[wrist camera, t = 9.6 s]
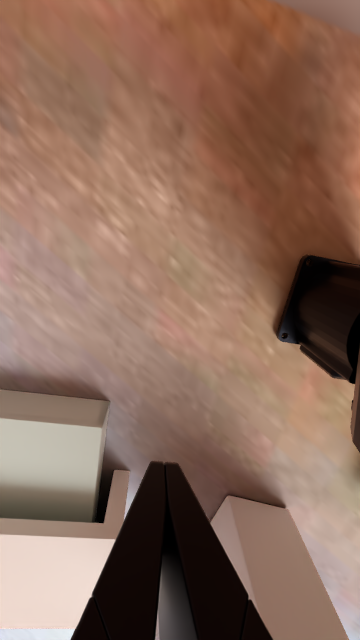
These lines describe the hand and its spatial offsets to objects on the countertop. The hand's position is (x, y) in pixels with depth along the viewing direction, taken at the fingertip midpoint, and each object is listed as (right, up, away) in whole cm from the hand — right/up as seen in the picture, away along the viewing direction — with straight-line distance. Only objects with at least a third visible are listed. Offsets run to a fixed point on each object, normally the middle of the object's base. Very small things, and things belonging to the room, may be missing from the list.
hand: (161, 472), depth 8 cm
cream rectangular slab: (-11, -9, +15) cm, 21 cm away
